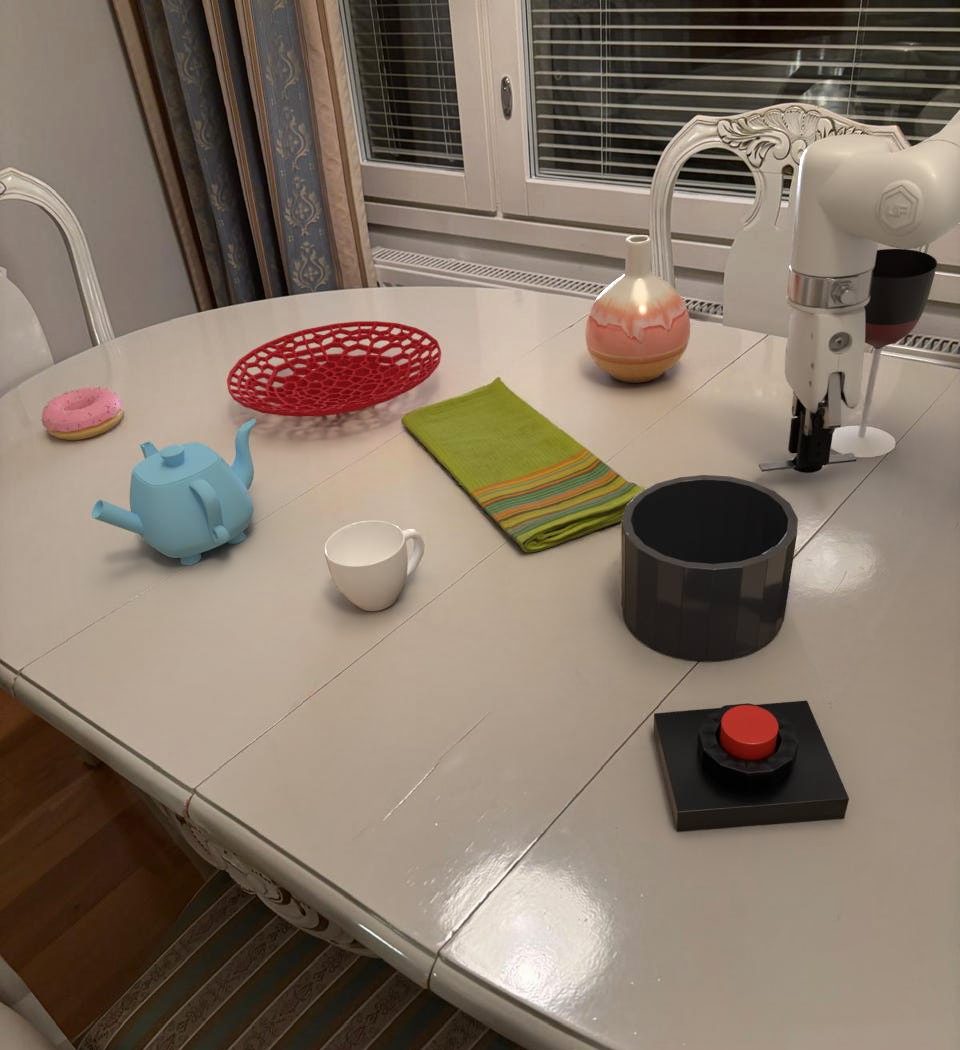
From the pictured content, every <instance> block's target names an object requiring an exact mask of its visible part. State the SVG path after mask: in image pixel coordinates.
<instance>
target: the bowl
mask: <svg viewBox="0 0 960 1050" xmlns="http://www.w3.org/2000/svg"><path fill="white" fill-rule="evenodd" d="M362 327H367V328H362ZM368 327H369V328H368ZM370 327H371V328H370ZM378 327H379V328H386V329H384V330H378V329H377V328H378ZM346 328H357V329H353V330H348V329H346ZM394 329H399V332H398V333H397V334H395V333H392V332H393V330H394ZM327 331H329V332H327ZM405 331H406V332H405ZM321 332H327V333H325V334H321ZM407 332H408V333H407ZM310 334H311V335H313V337H312V338H306V335H310ZM339 334H341V335H345V336H343V337H337V335H339ZM415 334H416V335H418V336H421V337H420V338H419V339H416V338H413V337H412V336H414V335H415ZM373 336H375V337H373ZM299 337H302V340H299V341H297V340H295V339H296V338H299ZM330 338H332V340H331V342H328V343H326V344H323V342H324V340H327V339H330ZM426 339H427V340H428V341H429V343H428V344H423V342H424V341H425V340H426ZM364 340H369V344H368V345H367V344H364V343H360V342H361V341H364ZM407 340H408V341H410V343H407V344H405V345H403V344H402V343H403V342H405V341H407ZM350 341H351V342H354V344H351V345H346V344H345V343H347V342H350ZM381 341H382V342H383V341H384V342H389V343H387V344H384V345H383V346H381V347H377V346H376V347H375V344H376V343H378V342H381ZM355 342H356V343H355ZM289 344H293V345H292V346H288V345H289ZM311 344H316V345H318V346H315V347H310V345H311ZM302 346H305V349H301V350H297V349H298V347H302ZM334 348H335V349H341V350H342V352H341V353H328V352H327V351H329V350H331V349H334ZM397 348H399V349H400V350H401V352H400V353H398V354H395V355H393V356H389V355H383V354H384V353H386V352H387V351H390V350H391V349H397ZM269 349H272V350H273V351H271V350H269ZM411 349H412V351H411V352H409V353H406V352H407V351H409V350H411ZM296 350H297V351H296ZM358 350H359V351H362V352H365V354H359V355H358V354H357V355H351V354H349V353H352V352H354V351H358ZM435 350H437V352H436V353H435V354H433V352H435ZM426 352H428V354H427V355H426V356H424V357H422V356H423V354H425V353H426ZM260 353H264V354H266V356H260V355H258V354H260ZM320 353H321V354H320ZM315 354H316V355H315ZM317 354H318V355H317ZM304 356H309V357H306V358H302V357H304ZM253 357H254V358H255V359H254V361H252V362H251V361H250V362H248V361H249V360H250V359H251V358H253ZM414 357H415V358H414ZM273 358H277V359H281V360H283V361H284V362H283V363H281V364H278V365H273V364H271V363H269V361H270V360H271V359H273ZM289 359H290V360H289ZM441 359H442V350H441V347H440V344H439V341H438V340H437V339H436V338H434V337H433V336H432V335H431V334H430V333H428V332H426V331H424V330H422V329H419V328H417V327H414V326H411V325H406V324H402V323H399V322H390V321H389V322H388V321H377V320H372V321H371V320H369V321H367V320H365V321H364V320H363V321H362V320H361V321H360V320H359V321H358V320H357V321H349V322H338V323H331V324H326V325H321V326H316V327H315V326H314V327H310V328H306V329H301V330H298V331H296V332H292V333H289V334H285V335H283V336H280V337H278V338H274V339H273V340H271V341H268V342H266V343H264V344H261V345H259V346H258V347H256V348H253V349H251V350H250V351H249V352H248V353H247V354H245V355H244V356H242V357H241V358H240V359H239V360H238V361H237V362H236V363H235V365H233V367H232V368H231V369H230V370H229V373H228V375H227V378H226V385H227V391H228V393H229V395H230V396H231V398H232V399H233V400H234V401H235V402H237V403H238V404H240V405H241V406H243V407H244V408H246V409H247V408H248V409H250V410H252V411H254V412H255V411H256V412H258V413H261V414H267V415H275V416H276V415H277V416H283V417H299V418H300V417H302V418H304V417H306V418H307V417H324V416H325V417H326V416H333V415H334V416H335V415H342V414H348V413H352V412H353V413H354V412H357V411H360V410H364V409H368V408H370V407H375V406H376V405H379V404H382V403H385V402H388V401H390V400H392V399H395V398H396V397H399V396H401V395H403V394H405V393H407V392H409V391H411V390H413V389H415V388H416V387H418V386H419V385H421V384H423V383H424V382H425V381H426V380H427V379H429V378H430V377H431V376H432V374H433V373H434V372H435V371H436V369H437V368H438V367H439V365H440V363H441ZM401 360H407V361H406V362H404V363H401V364H397V362H399V361H401ZM261 362H264V364H260V363H261ZM321 363H322V364H321ZM416 364H417V365H416ZM242 365H243V366H242ZM296 365H301V366H299V367H296ZM251 368H257V369H259V370H260V372H258V373H255V374H251V373H250V372H249V371H248V370H249V369H251ZM287 369H289V370H290V371H291V372H292V374H289V375H286V376H282V375H281V376H280V375H278V373H280V372H283V371H285V370H287ZM266 370H271V374H270V373H268V372H267V373H266V372H265V371H266ZM238 371H241V372H240V373H239V374H237V372H238ZM416 372H417V373H416ZM414 373H415V374H414ZM411 374H412V375H411ZM245 377H248V378H245ZM233 378H234V379H236V381H234V380H233ZM261 379H266V380H267V381H266V382H264V381H261ZM274 383H278V384H281V386H277V387H276V386H274ZM231 386H232V387H234V388H235V389H234V388H231ZM257 387H260V388H263V389H257ZM236 388H237V389H236ZM264 389H265V390H264ZM237 395H238V396H237ZM260 396H262V397H260ZM275 404H276V405H275Z"/></svg>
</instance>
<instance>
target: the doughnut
mask: <svg viewBox="0 0 960 1050" xmlns="http://www.w3.org/2000/svg"><path fill="white" fill-rule="evenodd" d="M123 413H124V409H123V402H122V400H121V398H120V397H119V396H118V395H117V392H114V391H112V390H111V389H108V388H104V387H101V386H98V387H97V386H96V387H95V386H94V387H90V386H89V387H83V388H77V389H74V390H71V391H70V390H69V391H65V392H63V393H62V394H60V395H59V396H57V397H54V398H53V399H51V400H50V401H47V404H46V405H45V406H44V407H43V408H42V412H41V419H40V421H41V424H42V426H43V427H44V428H45V429H46V431H47V433H48V434H50V435H52V436H53V437H55V438H58V439H61V440H68V441H71V440H72V441H75V440H77V441H78V440H84V439H88V438H93V437H96V436H98V435H101V434H103V433H105V432H107V431H109V430H111V429H113V427H115V426H117V424H118V423H119V422H120V420H121V419H122V417H123Z"/></svg>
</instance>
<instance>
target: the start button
mask: <svg viewBox="0 0 960 1050" xmlns="http://www.w3.org/2000/svg"><path fill="white" fill-rule="evenodd" d="M778 728H779V727H778V722H777V720H776V718H775V717H774V716H773V715H772V714H771V713H770V712H768V711H767V710H765V709H763V708H761V707H758V706H753V705H740V706H736V707H733V708H731V709H729V710H728V711H727V712H726V713H725V714H724V715H723V717H722V720H721V729H720V742H721V745H722V746H723V748H724V749H725V750H726V751H727V752H728V753H729V754H731V755H732V756H734V757H738V758H741V759H744V760H758V759H762V758H765V757H767V756H768V755H770V754H771V753H772V752H773V751H774V749H775V746H776V741H777V735H778Z"/></svg>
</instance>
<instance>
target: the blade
mask: <svg viewBox="0 0 960 1050" xmlns="http://www.w3.org/2000/svg"><path fill="white" fill-rule="evenodd" d="M824 413H825V412H820V413H815V416H814V420H815V418H816V417H817V416H824ZM805 415H806V408H804V409H802V411H801V419H800V428H799V437H798V445H797V453H795V454H796V455H795V456H794V457H793V458H792V459H786V460H785V459H784V460H777V461H768V462H759V463H758V467H759V469H760V471H761V472H762V473H764V472H774V471H782V470H790V469H792V470H794V471H795V472H798V473H801V474H814V473H817V472H820V471H821V470H822V469H823V467H824V466H816V467H806V468H799V467H798V465H797V456H798V448H799V439H800V432H803V431H804V425H805ZM853 462H854V463H855V462H857V457H855V456H854V455H853V453H847V454H841V453H838V454H830V457H829V463H828V464H827V465H826V466H828V465H835V464H845V463H853Z"/></svg>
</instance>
